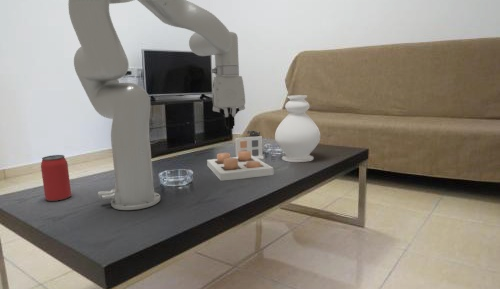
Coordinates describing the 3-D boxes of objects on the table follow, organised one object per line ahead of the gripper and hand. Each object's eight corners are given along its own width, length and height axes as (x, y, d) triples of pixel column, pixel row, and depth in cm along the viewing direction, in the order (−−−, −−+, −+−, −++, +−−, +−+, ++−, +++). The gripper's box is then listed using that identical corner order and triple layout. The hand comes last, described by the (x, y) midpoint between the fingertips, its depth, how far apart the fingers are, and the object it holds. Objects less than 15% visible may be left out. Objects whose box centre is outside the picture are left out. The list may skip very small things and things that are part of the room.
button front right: (249, 173, 120) (248, 164, 120) (244, 170, 125) (244, 161, 124) (262, 172, 121) (262, 163, 121) (257, 168, 126) (257, 160, 125)
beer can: (53, 203, 97) (47, 160, 95) (40, 199, 100) (34, 158, 98) (76, 196, 102) (71, 155, 100) (63, 193, 106) (58, 153, 104)
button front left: (225, 170, 117) (225, 161, 117) (222, 167, 122) (222, 158, 121) (239, 169, 119) (239, 160, 118) (235, 165, 123) (235, 157, 123)
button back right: (240, 161, 129) (240, 153, 129) (236, 159, 134) (236, 151, 133) (252, 160, 131) (252, 152, 130) (248, 158, 135) (248, 150, 134)
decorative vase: (299, 166, 130) (299, 97, 125) (266, 159, 143) (264, 96, 139) (329, 158, 141) (330, 94, 137) (295, 152, 155) (295, 94, 150)
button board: (221, 181, 114) (220, 173, 113) (207, 166, 134) (207, 159, 134) (273, 174, 119) (273, 167, 119) (252, 161, 140) (252, 155, 139)
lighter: (264, 153, 155) (264, 130, 153) (260, 154, 152) (259, 131, 150) (248, 151, 159) (248, 129, 157) (244, 153, 156) (244, 130, 154)
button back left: (218, 164, 127) (218, 155, 126) (215, 161, 131) (215, 153, 131) (231, 162, 128) (231, 154, 128) (228, 160, 133) (228, 152, 132)
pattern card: (237, 161, 140) (236, 139, 138) (234, 159, 144) (234, 137, 142) (263, 159, 143) (263, 137, 142) (260, 157, 147) (260, 135, 145)
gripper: (206, 72, 109) (210, 131, 112) (253, 71, 113) (254, 128, 117) (202, 73, 116) (205, 128, 119) (245, 71, 120) (247, 125, 124)
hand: (229, 128), depth 118 cm, fingers closed
